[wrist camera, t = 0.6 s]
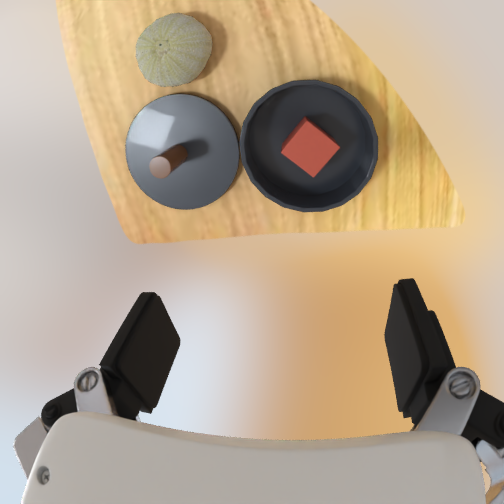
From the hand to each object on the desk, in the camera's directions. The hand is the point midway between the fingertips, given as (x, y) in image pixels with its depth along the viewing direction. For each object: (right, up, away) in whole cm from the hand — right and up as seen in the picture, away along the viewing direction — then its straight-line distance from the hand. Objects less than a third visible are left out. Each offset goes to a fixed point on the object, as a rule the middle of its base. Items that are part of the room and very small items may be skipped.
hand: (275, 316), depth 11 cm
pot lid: (-10, +15, +23) cm, 29 cm away
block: (+6, +15, +20) cm, 26 cm away
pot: (+6, +16, +21) cm, 26 cm away
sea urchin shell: (-10, +26, +16) cm, 32 cm away
